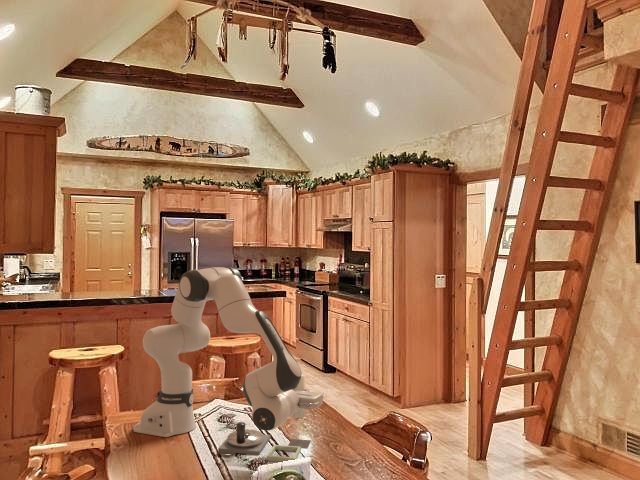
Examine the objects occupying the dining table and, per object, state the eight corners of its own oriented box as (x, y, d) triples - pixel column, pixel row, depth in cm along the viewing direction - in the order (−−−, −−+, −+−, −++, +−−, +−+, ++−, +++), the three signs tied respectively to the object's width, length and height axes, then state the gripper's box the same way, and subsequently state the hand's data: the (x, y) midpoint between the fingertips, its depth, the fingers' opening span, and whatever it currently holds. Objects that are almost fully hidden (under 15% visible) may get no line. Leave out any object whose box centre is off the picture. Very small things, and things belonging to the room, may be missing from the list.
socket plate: (287, 449, 167) (287, 446, 167) (291, 441, 174) (291, 438, 174) (307, 451, 166) (307, 448, 166) (311, 443, 172) (311, 440, 172)
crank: (221, 446, 163) (222, 424, 163) (234, 432, 175) (234, 411, 175) (257, 449, 161) (257, 426, 161) (267, 435, 173) (267, 413, 173)
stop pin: (293, 417, 168) (293, 376, 168) (295, 414, 172) (296, 373, 172) (303, 418, 168) (304, 376, 168) (305, 414, 171) (306, 374, 171)
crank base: (218, 454, 163) (218, 447, 163) (232, 438, 176) (232, 431, 176) (259, 457, 160) (259, 451, 160) (270, 440, 174) (270, 434, 174)
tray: (266, 463, 156) (266, 456, 156) (273, 451, 165) (274, 444, 165) (295, 465, 155) (295, 458, 155) (300, 453, 164) (300, 446, 164)
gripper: (315, 396, 154) (329, 384, 167) (256, 389, 161) (274, 378, 174) (315, 417, 154) (329, 403, 167) (256, 409, 161) (273, 396, 174)
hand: (300, 391), depth 171 cm, fingers closed on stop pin, 4 cm apart
